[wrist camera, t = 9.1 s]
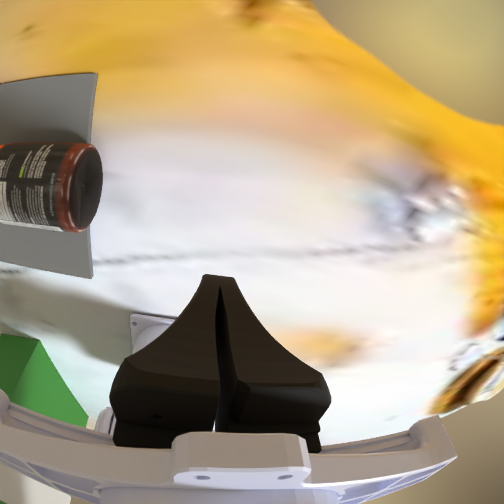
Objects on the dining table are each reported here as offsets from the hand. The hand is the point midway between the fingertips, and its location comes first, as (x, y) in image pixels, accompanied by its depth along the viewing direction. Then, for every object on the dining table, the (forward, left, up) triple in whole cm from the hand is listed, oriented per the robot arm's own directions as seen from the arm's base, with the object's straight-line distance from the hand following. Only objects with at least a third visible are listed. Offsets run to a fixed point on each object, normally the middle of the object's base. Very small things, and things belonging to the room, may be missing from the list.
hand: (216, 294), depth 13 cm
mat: (+1, +18, -10) cm, 21 cm away
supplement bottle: (+2, +9, -7) cm, 11 cm away
